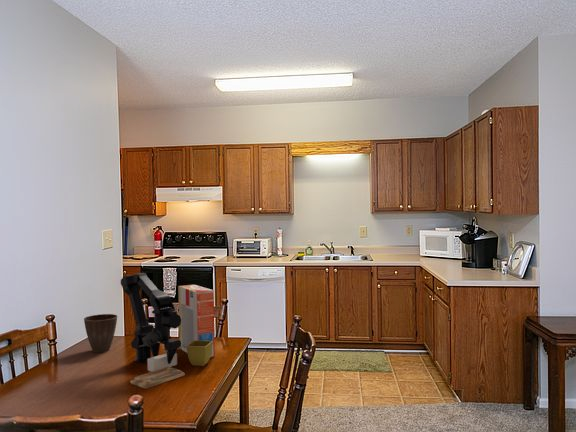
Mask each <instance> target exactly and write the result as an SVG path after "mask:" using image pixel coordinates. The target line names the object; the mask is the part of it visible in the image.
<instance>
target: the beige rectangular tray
mask: <svg viewBox="0 0 576 432" xmlns="http://www.w3.org/2000/svg"><path fill="white" fill-rule="evenodd" d="M185 375H186V374H185V372H183V371H182V370H181V369H177V368H175V367H172V366H171V367H164V368H161V369H158V370H155V371H152V372H151V371H148V372H147V373H143V374H140V375H137V376H134V377H133V379H132V380H131V379H130V381H129V382H130V384H131V385H134V386H137V387H140V388H142V389H151V388H152V387H155V386H158V385H161V384H164V383H166V382H169V381H172V380H175V379H177V378H180V377H183V376H185Z"/></svg>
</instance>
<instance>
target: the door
mask: <svg viewBox="0 0 576 432" xmlns="http://www.w3.org/2000/svg"><path fill="white" fill-rule="evenodd" d="M147 360H148V362H147V371H148V372H152V371H155V370H158V369H161V368H164V367H171V368H172V367H174V366H178V353H177V352H176V353H175V355H174V357H173V359H172V361H171V363H170V364H168V361H167V352H166V353H162V354H158V356H155V357H153V356H151V358H149V359H147Z"/></svg>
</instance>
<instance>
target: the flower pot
mask: <svg viewBox="0 0 576 432" xmlns="http://www.w3.org/2000/svg"><path fill="white" fill-rule="evenodd" d="M212 344H213V341H197V340H195V341H193V342H192V343H190V344H189V345H187V353H186V354H187V357H188V361H189V362H190V364H191V366H199V367H204V366H205V365H206V364H208V362H210V359H211V358H212V357H211V353H212ZM210 357H211V358H210Z"/></svg>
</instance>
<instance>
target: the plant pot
mask: <svg viewBox="0 0 576 432" xmlns="http://www.w3.org/2000/svg"><path fill="white" fill-rule="evenodd" d="M83 322H84V328H85V332H86V335H87V341H88V342H89V345H90V347H91V350H92V352H93V353H105V352H108V351H109V350H110V349H111V346H112V344H113V339H114V337H115V332H116V328H117V323H118V314H113V313H102V314H93V315H90V316H86V317H84V318H83Z"/></svg>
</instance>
